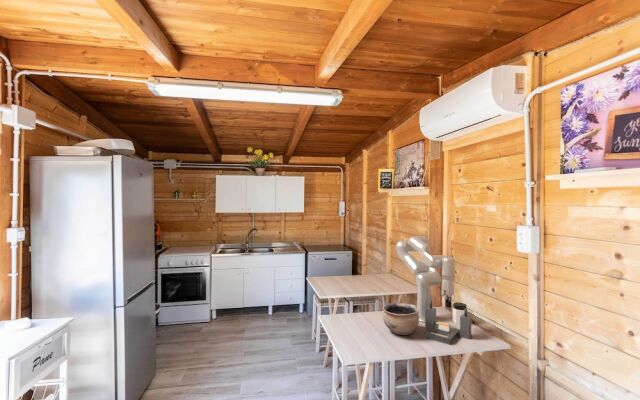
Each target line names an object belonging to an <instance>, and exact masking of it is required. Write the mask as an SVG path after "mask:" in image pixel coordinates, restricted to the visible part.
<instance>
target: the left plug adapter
mask: <svg viewBox="0 0 640 400" xmlns="http://www.w3.org/2000/svg"><path fill="white" fill-rule="evenodd" d="M424 323H425V329H429V330H430V329H431V328H432V327H433V326H435V325H436V324H437V308H435V307H433V299H432V300H430V307H428V308H426V309H425V322H424Z"/></svg>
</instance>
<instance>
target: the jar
mask: <svg viewBox="0 0 640 400" xmlns="http://www.w3.org/2000/svg"><path fill="white" fill-rule="evenodd" d="M452 305H453V306H452V313H451V314H452V320H451V321H452V322H454V324H456V325H460V316H461V315H464V308H465V307H466V308H467V304H466V303H463V302H454V303H453V304H452Z"/></svg>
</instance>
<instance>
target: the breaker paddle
mask: <svg viewBox="0 0 640 400" xmlns="http://www.w3.org/2000/svg"><path fill="white" fill-rule="evenodd" d="M438 324H439V329H440V330H443V331H447V332H449V331H450V327H451V324H449V323H445V322H441V321H439V322H438Z"/></svg>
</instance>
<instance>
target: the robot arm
mask: <svg viewBox="0 0 640 400" xmlns="http://www.w3.org/2000/svg"><path fill="white" fill-rule="evenodd" d="M429 243H430V241H429V239H428V237H427V236H425V235H414V236H410V237H409V238H408V239H407V240H400V241H398V242H397V243H396V244H395V252H396V254H397V256H398V258H399V259H400V260H401V261H402V262H403V263H404V265H405V266H406V267H407V269H408V270H409V271H410V273H411V274H412V275H414V276H415V283H416V292H417V294H416V297H417V298H416V301H417V302H416V303H417V305H416V307H417V310H418V309H419V312H418V315H419V323H420V322H421V323H425V309H426V308H428V307H430V300H432V301H433V293H432V290H431V289H430V287H436V286H439V285H440V284H441V297H444V306H445V308H449V309H451V308H452V297H453V295H454V294H455V281H456V260H455V258H454V257H451V256H447V255H444V254H439V255H437V254H436V255H431V254H430V252H431V246H430V245H429ZM412 252H417V253H418V254H419V257H420V260H418V259H417V258H416V257H415V256H414V255H413V254H412ZM436 268H441V275H440V273H439V272H438V270H436Z"/></svg>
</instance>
